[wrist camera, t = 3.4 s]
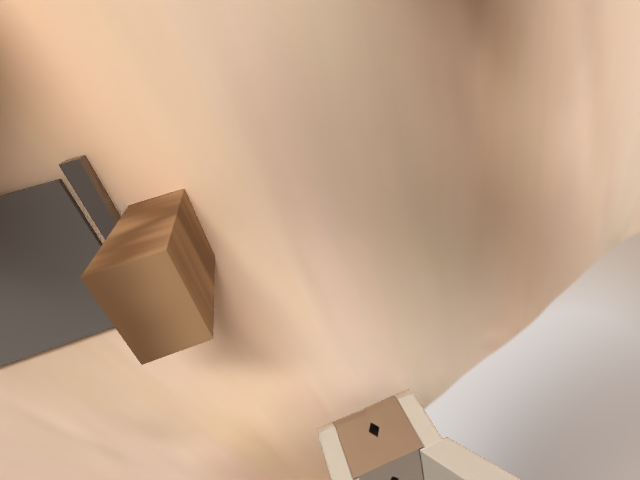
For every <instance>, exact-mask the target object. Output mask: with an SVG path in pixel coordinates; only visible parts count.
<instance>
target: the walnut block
mask: <svg viewBox="0 0 640 480" xmlns="http://www.w3.org/2000/svg"><path fill="white" fill-rule="evenodd" d="M214 264H215V256H214V254H213V251H212V249H211V247H210V245H209V243H208V240H207V238H206V236H205V234H204V231H203V229H202V227H201V225H200V223H199V220H198V218H197V216H196V214H195V211H194V209H193V207H192V205H191V203H190V200H189V198H188V196H187V194H186V191H185V189H181V190H178V191H175V192H171V193H168V194H165V195H162V196H158V197H155V198H152V199H148V200H145V201H142V202H138V203H135V204H132V205H129V206H128V208H127V209H126V211H125V212H124V214H123V215H122V216H121V218H120V219H119V221H118V222H117V224H116V225H115V227H114V228H113V230H112V231H111V233H110V234H109V236H108V237H107V239H106V240H105V242H104V243H103V245H102V246H101V247H100V249H99V250H98V252H97V253H96V255H95V256H94V258H93V259H92V261H91V262H90V264H89V265H88V267H87V268H86V270H85V271H84V273H83V274H82V275H81V277H80V278H81V280H82V281H83V283H84V284H85V286H86V287H87V288H88V290H89V291H90V293H91V294H92V295H93V297H94V298H95V300H96V301H97V302H98V304H99V305H100V307H101V308H102V309H103V311H104V312H105V314H106V315H107V317H108V318H109V319H110V321H111V322H112V324H113V325H114V326H115V328H116V329H117V331H118V332H119V333H120V335H121V336H122V338H123V339H124V341H125V342H126V343H127V345H128V346H129V348H130V349H131V350H132V352H133V353H134V355H135V356H136V357H137V359H138V360H139V362H140V363H141V364H145V363H148V362H151V361H153V360H156V359H159V358H162V357H164V356H167V355H170V354H173V353H175V352H178V351H181V350H184V349H186V348H189V347H192V346H195V345H197V344H200V343H203V342H206V341H208V340H211V339H213V324H214Z"/></svg>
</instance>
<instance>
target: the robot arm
mask: <svg viewBox="0 0 640 480" xmlns="http://www.w3.org/2000/svg"><path fill="white" fill-rule="evenodd" d="M334 425H335V426H334ZM335 428H336V429H335ZM317 431H318V436H319V440H320V443H321V446H322V450H323V453H324V457H325V460H326V464H327V467H328V471H329V474H330V478H331V480H520V479H519V478H516V477H515V476H513V475H511V474H510V473H508V472H506V471H505V470H503V469H501V468H499V467H498V466H496V465H494V464H492V463H491V462H489V461H487V460H485V459H484V458H482V457H481V456H479V455H477V454H475V453H474V452H472V451H470V450H468V449H467V448H465V447H463V446H461V445H460V444H458V443H456V442H454V441H453V440H451V439H449V438H448V437H446V438H444V439H442V438H441V436H440V434H439V433H438V431H437V430H436V428H435V427H434V425H433V423H432V422H431V420H430V419H429V417H428V416H427V414H426V412H425V411H424V409H423V408H422V406H421V405H420V403H419V401H418V400H417V398H416V397H415V395H414V394H413V392H412V391H410V390H409V389H408V390H406V391H403V392H401V393H399V394H397V395H394V396H391V397H389V398H386V399H384V400H382V401H380V402H378V403H375V404H373V405H371V406H369V407H366V408H364V409H363V410H360V411H358V412H356V413H353V414H351V415H348V416H346V417H344V418H341V419H339V420H337V421H334V423H333V422H331V423H329V424H326V425H324V426H322V427H320V428H317ZM339 439H340V440H339ZM340 442H341V443H340Z"/></svg>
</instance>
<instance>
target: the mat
mask: <svg viewBox="0 0 640 480" xmlns="http://www.w3.org/2000/svg"><path fill="white" fill-rule="evenodd" d="M101 246H102V243H101V242H100V240H99V238H98V237H97V235H96V234H95V232H94V230H93V229H92V227H91V226H90V224H89V223H88V221H87V219H86V218H85V216H84V215H83V213H82V211H81V210H80V208H79V207H78V205H77V204H76V202H75V200H74V199H73V197H72V196H71V194H70V192H69V191H68V189H67V188H66V186H65V185H64V183H63V181H62V180H61V179H58V180H55V181H51V182H48V183H44V184H41V185H37V186H34V187H30V188H27V189H23V190H20V191H16V192H13V193H9V194H6V195H2V196H0V366H2V365H5V364H8V363H11V362H14V361H17V360H20V359H23V358H25V357H28V356H31V355H34V354H37V353H40V352H43V351H46V350H49V349H51V348H54V347H57V346H60V345H63V344H66V343H69V342H72V341H75V340H78V339H80V338H83V337H86V336H89V335H92V334H95V333H98V332H101V331H104V330H106V329H109V328H112V327H115V326H114V325H113V324H112V322H111V321H110V319H109V318H108V317H107V315H106V314H105V312H104V311H103V309H102V308H101V307H100V305H99V304H98V302H97V301H96V300H95V298H94V297H93V295H92V294H91V293H90V291H89V290H88V288H87V287H86V286H85V284H84V283H83V281H82V280H81V278H80V277H81V275H82V274H83V273H84V271H85V270H86V268H87V267H88V265H89V264H90V262H91V261H92V259H93V258H94V256H95V255H96V253H97V252H98V250H99V249H100V247H101Z"/></svg>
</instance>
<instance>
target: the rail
mask: <svg viewBox="0 0 640 480" xmlns="http://www.w3.org/2000/svg"><path fill="white" fill-rule="evenodd" d="M59 166H60V168H61V169H62V171H63V173H64V174H65V176H66V177H67V179H68V181H69V182H70V184H71V185H72V187H73V189H74V190H75V192H76V193H77V195H78V197H79V198H80V200H81V201H82V203H83V205H84V206H85V208H86V209H87V211H88V213H89V214H90V216H91V218H92V219H93V221H94V222H95V224H96V226H97V227H98V229H99V230H100V232H101V234H102V235H103V237H104V238H105V240H106V239H107V237H108V236H109V234H110V233H111V231H112V230H113V228H114V227H115V225H116V224H117V222H118V221H119V219H120V218H121V217H120V215H119V213H118V212H117V210H116V208H115V206H114V205H113V203H112V201H111V199H110V198H109V196H108V194H107V193H106V191H105V189H104V187H103V186H102V184H101V182H100V180H99V179H98V177H97V175H96V173H95V172H94V170H93V168H92V166H91V165H90V163H89V161H88V159H87V158H86V156H85V155H84V156H80V157H76V158H73V159H69V160H66V161H64V162H62V163H61V164H59Z"/></svg>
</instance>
